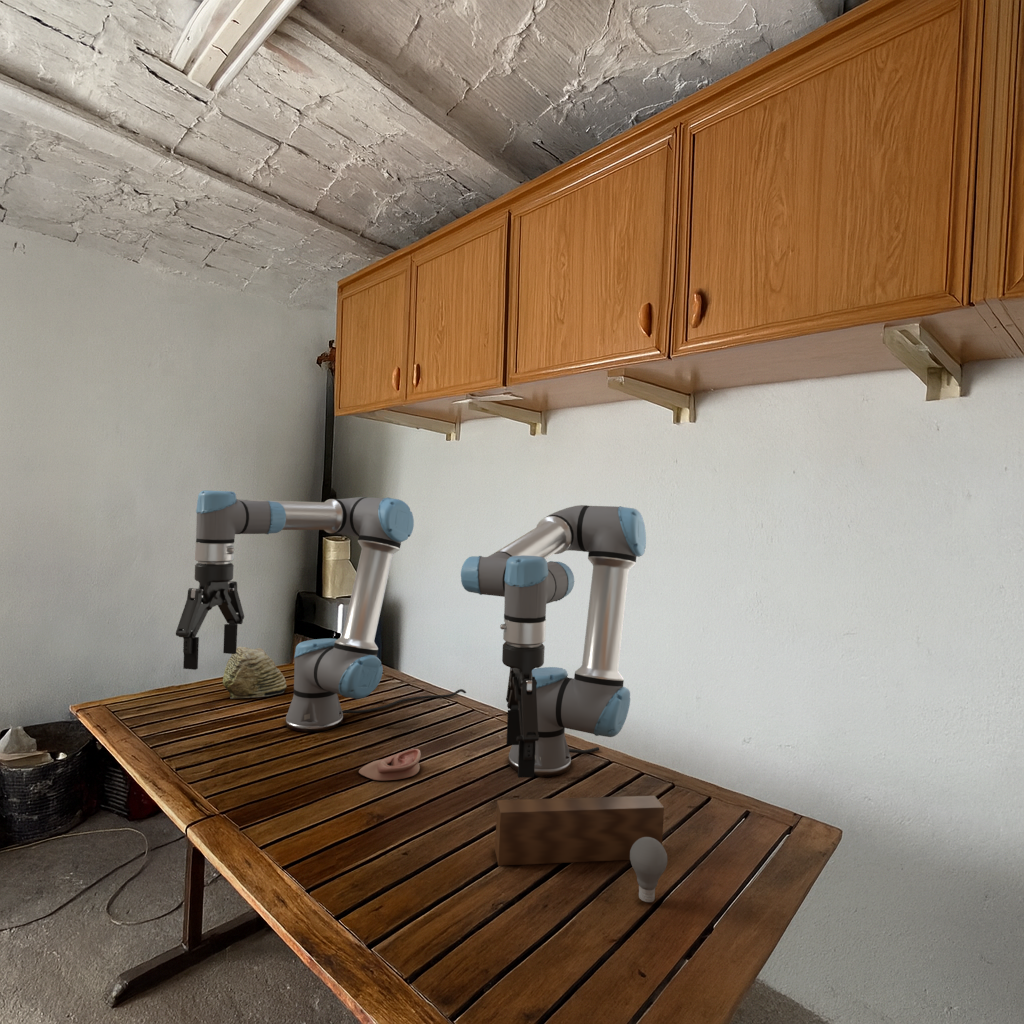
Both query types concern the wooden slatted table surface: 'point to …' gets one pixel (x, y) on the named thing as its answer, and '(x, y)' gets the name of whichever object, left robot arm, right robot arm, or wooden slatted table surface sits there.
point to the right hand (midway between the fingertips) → (519, 759)
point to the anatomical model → (393, 766)
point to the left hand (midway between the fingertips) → (211, 660)
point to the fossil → (252, 674)
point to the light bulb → (648, 865)
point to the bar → (574, 828)
